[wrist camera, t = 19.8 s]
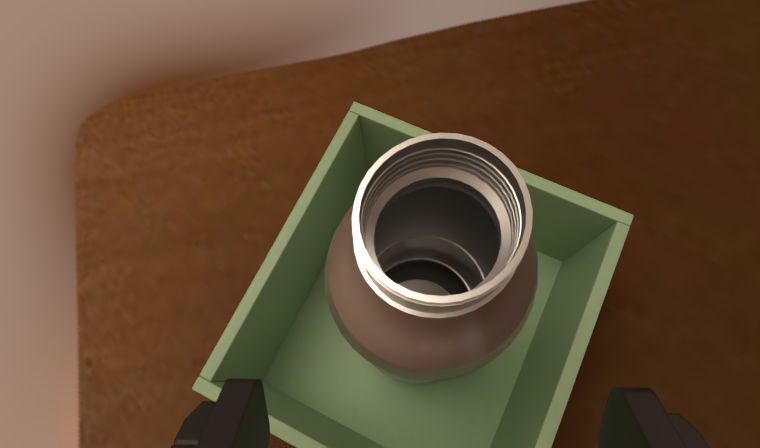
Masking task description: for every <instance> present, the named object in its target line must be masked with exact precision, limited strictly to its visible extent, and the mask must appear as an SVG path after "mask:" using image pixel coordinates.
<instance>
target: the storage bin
mask: <svg viewBox="0 0 760 448" xmlns="http://www.w3.org/2000/svg"><path fill="white" fill-rule="evenodd" d="M427 134H433V133H430V132H428V131H426V130H423V129H421V128H418V127H416V126H413V125H411V124H408V123H406V122H403V121H401V120H399V119H396V118H394V117H391V116H389V115H386V114H384V113H381V112H379V111H376V110H374V109H372V108H369V107H367V106H364V105H362V104H359V103H357V102H353V104H352V106H351V108H350V110H349V112H348V113H347V115H346V117H345V119H344V120H343V122H342V124H341V126H340V127H339V129H338V131H337V133H336V134H335V136H334V138H333V140H332V141H331V143H330V145H329V147H328V149H327V150H326V152H325V154H324V156H323V157H322V159H321V161H320V163H319V164H318V166H317V168H316V170H315V172H314V173H313V175H312V177H311V179H310V180H309V182H308V184H307V186H306V187H305V189H304V191H303V193H302V195H301V196H300V198H299V200H298V202H297V203H296V205H295V207H294V209H293V210H292V212H291V214H290V216H289V218H288V219H287V221H286V223H285V225H284V226H283V228H282V230H281V232H280V233H279V235H278V237H277V239H276V241H275V242H274V244H273V246H272V248H271V249H270V251H269V253H268V255H267V256H266V258H265V260H264V262H263V263H262V265H261V267H260V269H259V271H258V272H257V274H256V276H255V278H254V279H253V281H252V283H251V285H250V286H249V288H248V290H247V292H246V294H245V295H244V297H243V299H242V301H241V302H240V304H239V306H238V308H237V309H236V311H235V313H234V315H233V317H232V318H231V320H230V322H229V324H228V325H227V327H226V329H225V331H224V332H223V334H222V336H221V338H220V340H219V341H218V343H217V345H216V347H215V348H214V350H213V352H212V354H211V355H210V357H209V359H208V361H207V363H206V364H205V366H204V368H203V370H202V371H201V373H200V376H199V377H198V378H197V380H196V382H195V384H194V385H193V387H192V389H193V390H194V391H196V392H197V393H199V394H201V395H203V396H205V397H206V398H208V399H210V400H212V401H214V402H216V401H217V399H218V396H219V394H220V392H221V390H222V387H223V385H224V383H225V381H226V380H227V379H228V378H245V379H261V381H262V383H263V388H264V394H265V400H266V406H267V411H268V417H269V423H270V433H271V434H273V435H275V436H276V437H278V438H280V439H282V440H283V441H285V442H287V443H289V444H291V445H292V446H294V447H296V448H551V447H552V444H553V441H554V438H555V436H556V433H557V430H558V427H559V424H560V422H561V419H562V416H563V413H564V410H565V408H566V405H567V402H568V399H569V396H570V394H571V391H572V388H573V385H574V382H575V380H576V377H577V374H578V371H579V368H580V365H581V363H582V360H583V357H584V354H585V351H586V349H587V346H588V343H589V340H590V337H591V335H592V332H593V329H594V326H595V323H596V321H597V318H598V315H599V312H600V309H601V306H602V304H603V301H604V298H605V295H606V292H607V290H608V287H609V284H610V281H611V278H612V276H613V273H614V270H615V267H616V264H617V262H618V259H619V256H620V253H621V250H622V248H623V245H624V242H625V239H626V236H627V233H628V231H629V226H630V225H631V222H632V219H633V216H634V215H632V214H629V213H627V212H625V211H622V210H620V209H617V208H615V207H612V206H610V205H607V204H605V203H602V202H600V201H598V200H595V199H593V198H590V197H588V196H585V195H583V194H580V193H578V192H575V191H573V190H571V189H568V188H566V187H563V186H561V185H558V184H556V183H553V182H551V181H548V180H546V179H543V178H541V177H539V176H536V175H534V174H531V173H529V172H526V171H524V170H521V169H519V168H517V170H518V171H519V173H520V174H521V176H522V177H523V179H524V181H525V184H526V186H527V189H528V191H529V193H530V199H531V204H532V209H533V215H532V230H531V233H532V235H533V238H534V242H535V247H536V253H537V258H538V286H537V291H536V295H535V300H534V304H533V308H532V310H531V312H530V314H529V316H528V319H527V321H526V323H525V325H524V327H523V328H522V330H521V331H520V332H519V334H518V335H517V337H516V338H515V339H514V341H513V342H512V343H511V345H509V346H508V347H507V348H506V349H505V350H504V351H503V352H502V353H501V354H500V355H498V356H497V357H496V358H495V359H494V360H492V361H490V362H489V363H487V364H485V365H484V366H482V367H480V368H479V369H477V370H475V371H472V372H469V373H466V374H463V375H460V376H457V377H455V378H448V379H440V380H434V381H431V382H424V383H407V382H402V381H399V380H395V379H393V378H391V377H389V376H387V375H385V374H383V373H382V372H381V371H379V370H378V369H377V368H376V367H375V366H374V365H373V364H372V363H370V362H368V361H367V360H366V359H365V358H364V357H362V356H361V355H360V354H359V353H358V352H357V351H355V350H354V349H353V348H352V347H351V345H350V344H349V343H348V342H347V340H346V339H345V338H344V336H343V335H342V334H341V333H340V331H339V329H338V327H337V325H336V323H335V321H334V319H333V317H332V315H331V313H330V309H329V305H328V301H327V297H326V293H325V273H324V272H325V265H326V259H327V252H328V249H329V247H330V244H331V241H332V238H333V235H334V233H335V231H336V229H337V228H338V226H339V224H340V223H341V221H342V219H343V218H344V216H345V214H346V213H347V211H348V210H349V209H350V207H351V206H352V205H353V204H354V201H355V197H356V195H357V192H358V189H359V186H360V184H361V182H362V180H363V179H364V177H365V175H366V174H367V172H368V170H369V169H370V168H371V167H372V166H373V165H374V164H375V162H376V161H377V160H378V159H379V158H380V157H381V156H383V155H384V154H385V153H387V152H388V151H389V150H390V149H392V148H393V147H395V146H397V145H399V144H401V143H403V142H405V141H407V140H409V139H412V138H415V137H419V136H422V135H427Z"/></svg>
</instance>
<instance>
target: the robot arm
mask: <svg viewBox="0 0 760 448" xmlns="http://www.w3.org/2000/svg"><path fill="white" fill-rule="evenodd" d="M269 438H270V423H269V417H268V411H267V406H266V400H265V394H264V388H263V383H262V381H261V379H245V378H228V379H227V380H226V381H225V383H224V385H223V387H222V390H221V392H220V394H219V396H218V399H217V401H216V402H209V401H203V402H202V403H201V404H200V405H199V406H198V407H197V408H196V409H195V410H194V411H193V412H192V413H191V414H190V415H189V416H188V417H187V418H186V419H185V420H184V422H183V424H182V426H181V428H180V430H179V432H178V434H177V436H176V438H175V440H174V445H172V446H171V448H268V446H269ZM598 443H599V448H710V447H709V445H708V444H707V442H706V441H705V439H704V438H703V436H702V434H701V433H700V432H699V431H697V430H696V429H695V428H694V427H693V426H692V425H691V424H690V423H688V422H687V421H686V420H685V419H684V418H683V417H682V416H681V415H679V414H676V413H667V412H666V411H665V409H664V407H663V406H662V404H661V402H660V401H659V399H658V397H657V396H656V394H655V393H654V392H653V390H651V389H650V388H626V387H614V388H612V389H611V391H610V394H609V398H608V401H607V405H606V409H605V412H604V416H603V420H602V423H601V427H600V431H599V437H598Z"/></svg>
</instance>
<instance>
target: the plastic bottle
mask: <svg viewBox="0 0 760 448" xmlns="http://www.w3.org/2000/svg"><path fill="white" fill-rule="evenodd" d="M532 215H533V209H532V204H531V199H530V193H529V191H528V189H527V186H526V184H525V181H524V179H523V177H522V176H521V174H520V173H519V171H518V170H517V168H516V167H515V165H514V164H513V163H512V162H511V161H510V160H509V159H508V158H507V157H506V156H505V155H504V154H503V153H502V152H500V151H499V150H497V149H496V148H494V147H493V146H491V145H490V144H488V143H486V142H483V141H481V140H479V139H476V138H474V137H470V136H466V135H461V134H456V133H434V134H427V135H422V136H419V137H415V138H412V139H409V140H407V141H405V142H403V143H401V144H399V145H397V146H395V147H393V148H392V149H390V150H389V151H388V152H387V153H385V154H384V155H383V156H381V157H380V158H379V159H378V160H377V161H376V162H375V164H374V165H373V166H372V167H371V168H370V169H369V170H368V172H367V174H366V175H365V177H364V179H363V180H362V182H361V184H360V186H359V189H358V192H357V195H356V197H355V201H354V204H353V205H352V206H351V207H350V209H349V210H348V211H347V213H346V214H345V216H344V218H343V219H342V221H341V223H340V224H339V226H338V228H337V229H336V231H335V233H334V235H333V238H332V241H331V244H330V247H329V249H328V252H327V259H326V265H325V272H324V273H325V293H326V297H327V301H328V305H329V309H330V313H331V315H332V317H333V319H334V321H335V323H336V325H337V327H338V329H339V331H340V333H341V334H342V335H343V336H344V338H345V339H346V340H347V342H348V343H349V344H350V345H351V347H352V348H353V349H354V350H355V351H357V352H358V353H359V354H360V355H361V356H362V357H364V358H365V359H366V360H367V361H368V362H370V363H372V364H373V365H374V366H375V367H376V368H377V369H378V370H379V371H381V372H382V373H383V374H385V375H387V376H389V377H391V378H393V379H395V380H399V381H402V382H407V383H424V382H431V381H434V380H440V379H448V378H455V377H457V376H460V375H463V374H466V373H469V372H472V371H475V370H477V369H479V368H480V367H482V366H484V365H485V364H487V363H489V362H490V361H492V360H494V359H495V358H496V357H497V356H498V355H500V354H501V353H502V352H503V351H504V350H505V349H506V348H507V347H508V346H509V345H511V343H512V342H513V341H514V339H515V338H516V337H517V335H518V334H519V332H520V331H521V330H522V328H523V327H524V325H525V323H526V321H527V319H528V316H529V314H530V312H531V310H532V308H533V304H534V300H535V295H536V291H537V286H538V258H537V253H536V247H535V242H534V238H533V235H532V233H531V230H532Z"/></svg>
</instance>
